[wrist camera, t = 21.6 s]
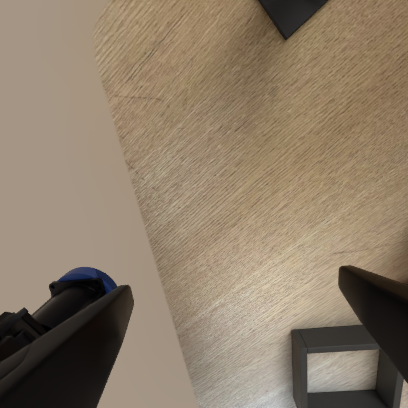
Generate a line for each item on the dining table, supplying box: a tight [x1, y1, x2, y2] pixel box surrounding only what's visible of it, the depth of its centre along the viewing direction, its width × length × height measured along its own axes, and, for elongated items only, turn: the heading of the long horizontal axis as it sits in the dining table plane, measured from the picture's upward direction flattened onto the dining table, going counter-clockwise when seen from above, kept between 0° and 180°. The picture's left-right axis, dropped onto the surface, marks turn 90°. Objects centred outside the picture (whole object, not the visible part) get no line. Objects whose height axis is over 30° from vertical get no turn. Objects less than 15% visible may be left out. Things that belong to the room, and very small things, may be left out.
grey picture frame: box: [292, 325, 404, 408], centre depth 24 cm, size 12×12×2 cm
